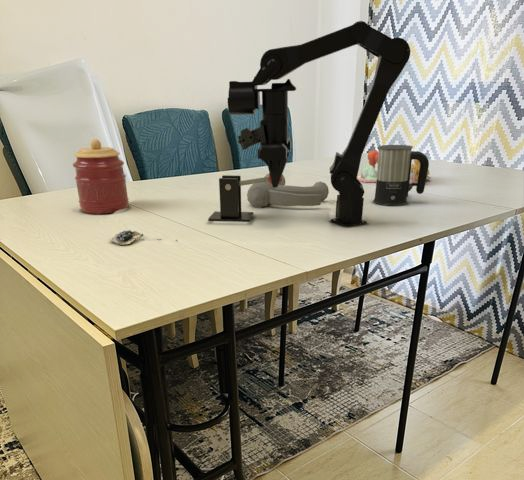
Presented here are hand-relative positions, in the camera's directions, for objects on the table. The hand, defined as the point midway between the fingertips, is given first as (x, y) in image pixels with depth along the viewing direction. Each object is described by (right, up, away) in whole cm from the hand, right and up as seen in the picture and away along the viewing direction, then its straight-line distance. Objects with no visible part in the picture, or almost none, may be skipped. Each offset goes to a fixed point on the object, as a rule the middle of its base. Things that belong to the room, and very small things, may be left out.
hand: (275, 185), depth 123 cm
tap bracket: (-11, -7, +5) cm, 14 cm away
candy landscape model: (+42, +19, +54) cm, 71 cm away
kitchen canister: (-46, -1, +17) cm, 49 cm away
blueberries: (-32, -13, -14) cm, 37 cm away
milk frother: (+34, +4, +25) cm, 43 cm away
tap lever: (-5, 0, +1) cm, 5 cm away
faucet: (+5, +3, +23) cm, 24 cm away
